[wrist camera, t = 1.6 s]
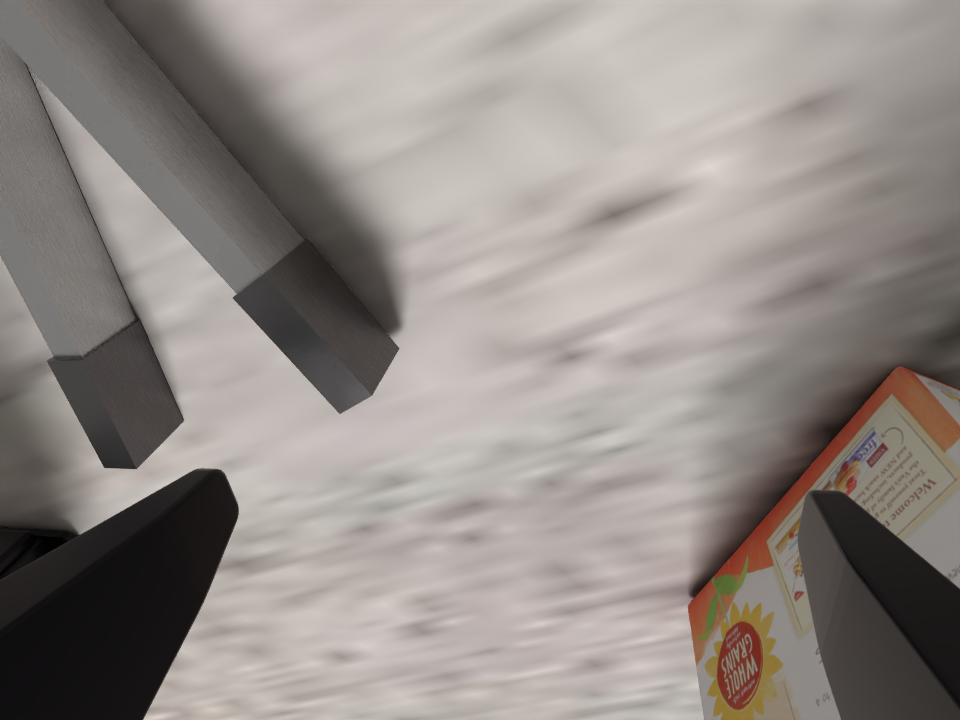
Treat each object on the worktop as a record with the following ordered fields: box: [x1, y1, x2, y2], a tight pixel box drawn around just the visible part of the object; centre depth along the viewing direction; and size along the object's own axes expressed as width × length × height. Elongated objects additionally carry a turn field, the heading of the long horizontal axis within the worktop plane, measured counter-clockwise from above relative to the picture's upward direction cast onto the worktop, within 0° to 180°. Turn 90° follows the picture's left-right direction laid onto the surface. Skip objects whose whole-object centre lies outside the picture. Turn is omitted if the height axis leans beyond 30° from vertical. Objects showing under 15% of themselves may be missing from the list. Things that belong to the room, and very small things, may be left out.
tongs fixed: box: [0, 36, 183, 469], centre depth 20 cm, size 21×3×3 cm, turn 7°
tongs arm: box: [0, 0, 399, 414], centre depth 18 cm, size 20×4×4 cm, turn 37°
